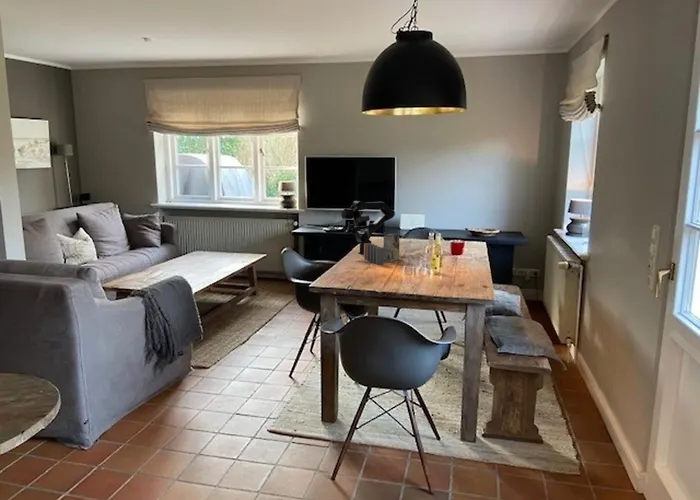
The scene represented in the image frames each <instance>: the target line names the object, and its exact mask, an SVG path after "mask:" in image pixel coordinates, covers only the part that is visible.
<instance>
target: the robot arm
mask: <svg viewBox="0 0 700 500" xmlns="http://www.w3.org/2000/svg"><path fill="white" fill-rule="evenodd" d="M374 208H375V209H377V208H379V210H380V212H381V213H380V216H379V217H378V218H377V219H376V220H375V221H374V222H371V223H368V225H367V222H369V221H370V219H371V218H370V216H369V215H365V216H364V215H363V213H364V212H363V210H367V209H374ZM395 214H396V212H395V210H394V209H393V208H391V207H390V206H389V205H388V204H387V203H386V202H385V201H372V202H371V201H366V202H365V201H361V200H353V202H352V205H351V206H350V207H349V208H343V210H342V212H341V215H340V216H341V219H343V220H350V221H351V220H352V219H353V224H352V223H350V224H348V225H347V227H346V233H349V234H351V235H353V236H355V239H356V240H355V241H357V243H358V245H359V252H358V254H359V255H364V243H372V240H370V239H371V237H372V234H374V232H375V231H376V230H378V229H379V228H380V227H381V226H382V225H383V224H384V223H385V222H387V221H390V220H392V219H393V218H395ZM362 215H363V216H362ZM358 230H359V231H358Z"/></svg>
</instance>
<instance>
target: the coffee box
mask: <svg viewBox="0 0 700 500" xmlns="http://www.w3.org/2000/svg"><path fill="white" fill-rule="evenodd" d="M383 248H384V262H385V261H386V262H394V261H397V260H400V234H398V233H390V234H389V233H388V234H383Z"/></svg>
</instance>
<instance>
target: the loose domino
mask: <svg viewBox="0 0 700 500" xmlns="http://www.w3.org/2000/svg"><path fill="white" fill-rule="evenodd" d="M367 244H373V243H372V242H371V243H364V254H363V259H364V260H367Z"/></svg>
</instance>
